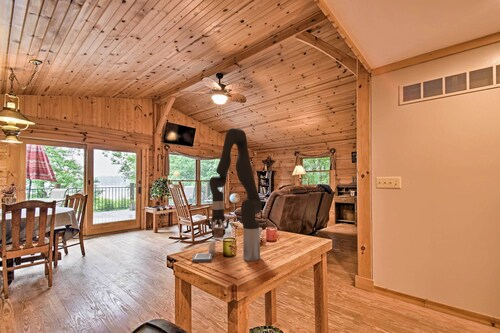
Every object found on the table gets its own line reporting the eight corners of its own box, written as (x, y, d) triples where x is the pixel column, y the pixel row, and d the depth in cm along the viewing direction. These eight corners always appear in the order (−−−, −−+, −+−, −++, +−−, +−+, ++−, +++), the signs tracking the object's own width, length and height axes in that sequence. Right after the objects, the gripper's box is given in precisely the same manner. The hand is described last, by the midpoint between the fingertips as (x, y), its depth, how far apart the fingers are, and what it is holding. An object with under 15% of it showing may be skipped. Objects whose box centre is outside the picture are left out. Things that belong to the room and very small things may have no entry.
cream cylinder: (215, 252, 147) (215, 242, 148) (215, 254, 143) (215, 244, 144) (209, 252, 147) (209, 242, 147) (208, 254, 143) (208, 244, 143)
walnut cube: (223, 235, 155) (223, 226, 156) (222, 237, 150) (222, 228, 150) (214, 235, 155) (214, 227, 155) (213, 238, 150) (213, 228, 150)
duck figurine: (251, 247, 164) (258, 235, 159) (245, 238, 169) (252, 227, 164) (264, 243, 172) (271, 232, 167) (258, 235, 177) (265, 224, 172)
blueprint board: (213, 255, 141) (213, 252, 141) (210, 261, 131) (210, 258, 131) (195, 255, 141) (195, 253, 141) (192, 262, 131) (192, 259, 131)
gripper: (229, 207, 157) (230, 233, 156) (207, 207, 157) (208, 234, 156) (229, 208, 150) (230, 236, 149) (205, 209, 149) (206, 237, 148)
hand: (218, 235), depth 152 cm, fingers closed on walnut cube, 5 cm apart
